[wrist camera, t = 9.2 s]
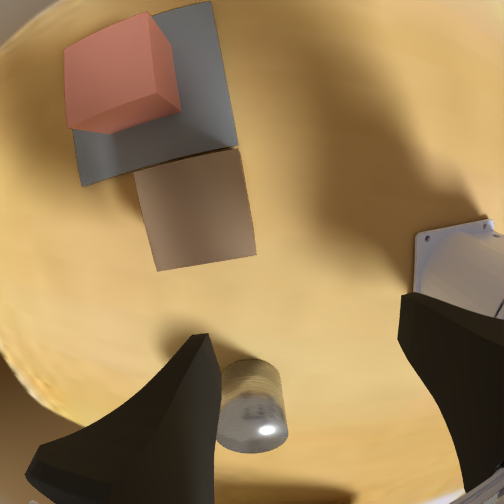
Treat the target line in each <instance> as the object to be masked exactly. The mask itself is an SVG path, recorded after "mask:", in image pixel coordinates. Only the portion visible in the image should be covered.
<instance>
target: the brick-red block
mask: <svg viewBox="0 0 504 504" xmlns="http://www.w3.org/2000/svg"><path fill="white" fill-rule="evenodd" d="M64 89H65V106H66V118H67V128H69V129H77V130H84V131H91V132H98V133H104V134H113V133H116V132H118V131H121V130H124V129H127V128H130V127H133V126H136V125H139V124H142V123H145V122H148V121H151V120H155V119H158V118H161V117H165V116H168V115H172V114H176V113H179V112H182V111H181V105H180V99H179V93H178V86H177V80H176V74H175V67H174V60H173V53H172V46H171V44H170V43H169V41H168V40H167V38H166V37H165V35H164V34H163V32H162V31H161V30H160V28H159V27H158V25H157V24H156V22H155V21H154V19H153V18H152V17H151V15H150V14H149V12H148V11H147V12H144V13H141V14H138V15H135V16H133V17H130V18H128V19H125V20H123V21H120V22H118V23H115V24H113V25H111V26H108V27H106V28H104V29H102V30H100V31H97V32H95V33H93V34H91V35H89V36H87V37H85V38H83V39H81V40H80V41H78V42H76V43H74V44H72V45H70V46H69V47H67V48H65V49H64Z"/></svg>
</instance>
